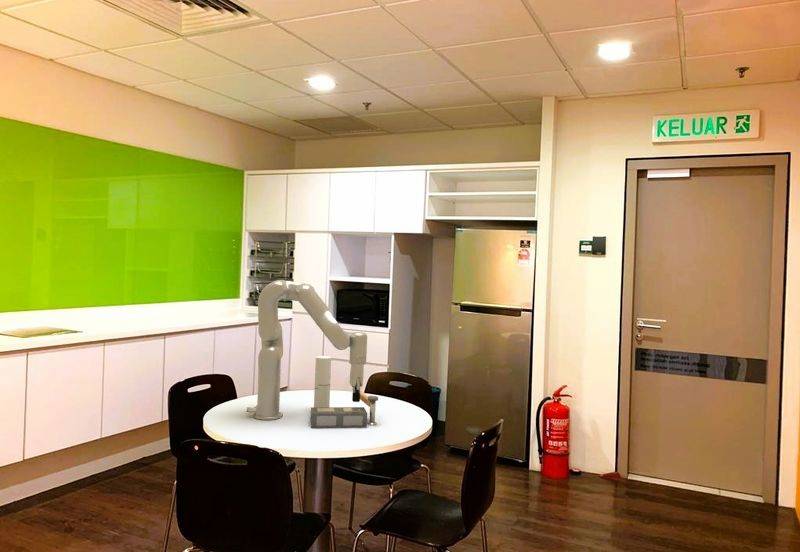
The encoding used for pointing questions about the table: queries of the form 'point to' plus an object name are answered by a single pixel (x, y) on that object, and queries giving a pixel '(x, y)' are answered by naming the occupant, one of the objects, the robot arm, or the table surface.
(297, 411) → the table surface
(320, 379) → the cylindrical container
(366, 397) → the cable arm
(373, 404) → the post
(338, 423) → the block
